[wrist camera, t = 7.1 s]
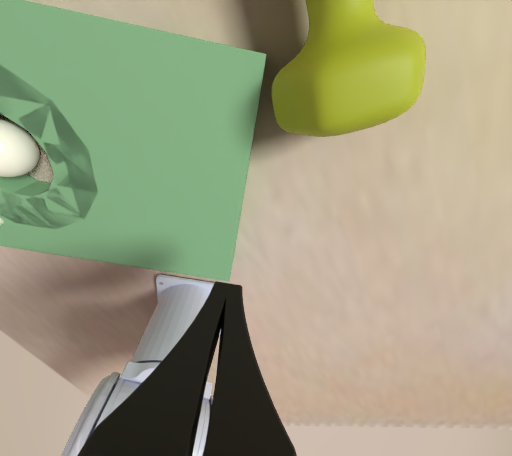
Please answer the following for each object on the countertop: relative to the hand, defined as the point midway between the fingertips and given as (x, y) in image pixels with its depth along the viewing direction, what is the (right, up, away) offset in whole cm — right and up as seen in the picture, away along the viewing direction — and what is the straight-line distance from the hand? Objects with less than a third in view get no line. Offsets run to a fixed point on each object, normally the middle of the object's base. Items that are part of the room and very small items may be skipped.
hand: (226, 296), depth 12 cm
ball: (-17, +9, +5) cm, 20 cm away
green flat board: (-10, +9, +7) cm, 15 cm away
